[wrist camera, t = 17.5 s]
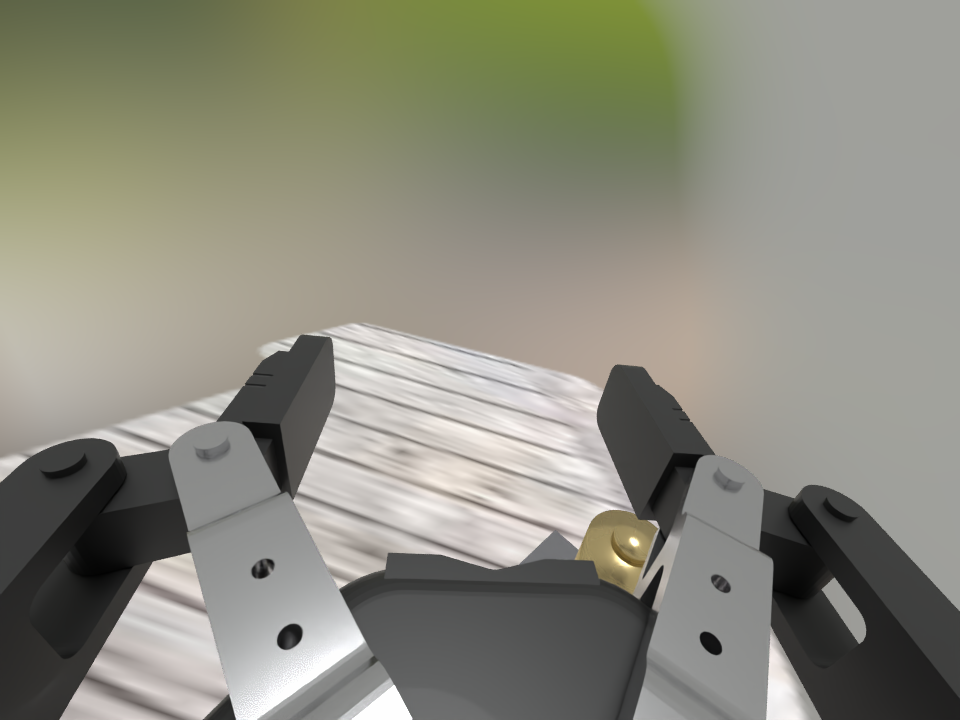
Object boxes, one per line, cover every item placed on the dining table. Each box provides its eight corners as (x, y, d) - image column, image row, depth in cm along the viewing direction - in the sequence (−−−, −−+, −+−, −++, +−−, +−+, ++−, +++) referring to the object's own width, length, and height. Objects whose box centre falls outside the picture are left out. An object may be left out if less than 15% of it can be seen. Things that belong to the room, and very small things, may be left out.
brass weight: (592, 702, 26) (661, 601, 20) (532, 636, 29) (575, 530, 22) (629, 644, 29) (698, 541, 23) (572, 590, 32) (619, 485, 26)
